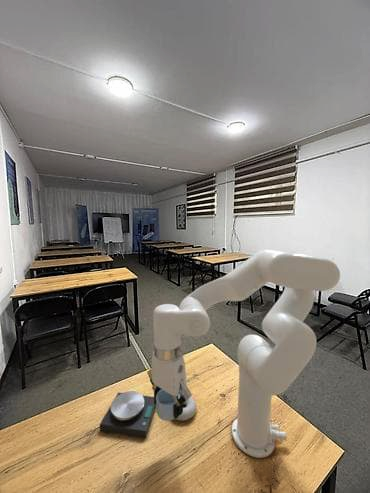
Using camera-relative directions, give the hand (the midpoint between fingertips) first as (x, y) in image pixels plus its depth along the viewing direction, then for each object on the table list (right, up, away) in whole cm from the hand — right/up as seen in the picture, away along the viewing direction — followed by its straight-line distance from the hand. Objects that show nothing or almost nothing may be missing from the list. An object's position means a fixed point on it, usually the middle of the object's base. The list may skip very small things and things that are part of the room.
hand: (168, 407), depth 61 cm
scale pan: (-15, -8, +11) cm, 19 cm away
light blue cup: (0, -1, 0) cm, 1 cm away
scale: (-14, -11, +11) cm, 21 cm away
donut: (+4, -12, +13) cm, 18 cm away
